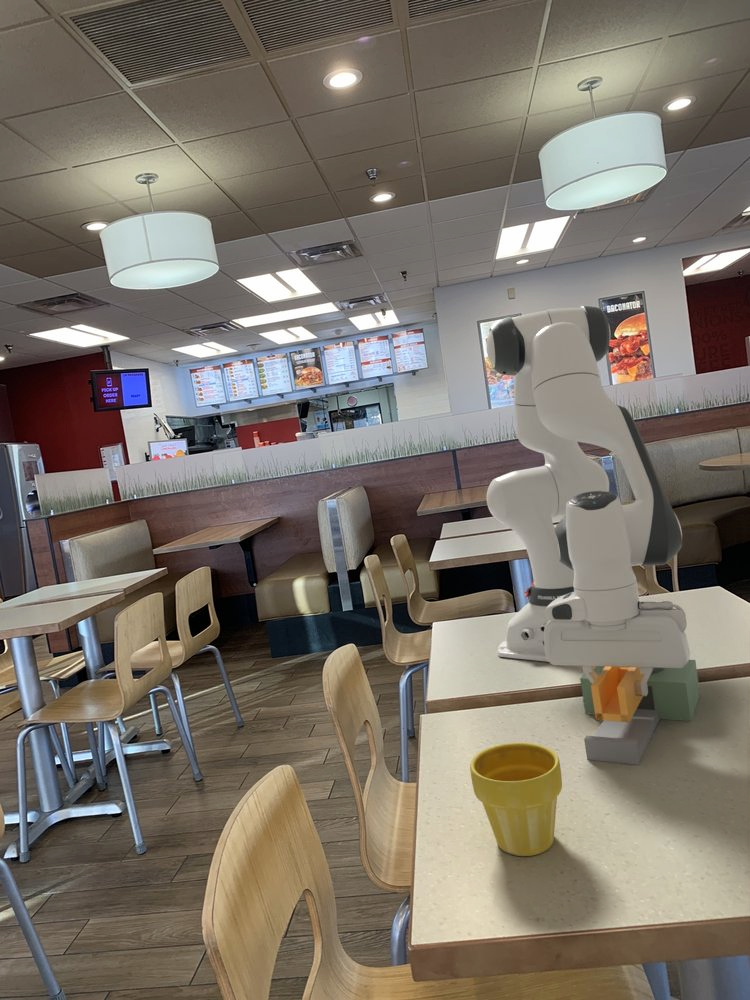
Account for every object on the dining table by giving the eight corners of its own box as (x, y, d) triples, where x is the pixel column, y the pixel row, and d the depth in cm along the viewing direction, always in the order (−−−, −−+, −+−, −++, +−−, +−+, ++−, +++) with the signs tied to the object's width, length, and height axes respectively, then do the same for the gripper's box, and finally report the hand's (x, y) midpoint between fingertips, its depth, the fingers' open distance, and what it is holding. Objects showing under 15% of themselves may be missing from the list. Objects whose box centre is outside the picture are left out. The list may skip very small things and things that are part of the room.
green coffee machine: (556, 756, 101) (545, 683, 100) (601, 690, 122) (592, 629, 121) (673, 768, 92) (662, 688, 92) (700, 695, 113) (691, 630, 113)
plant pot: (550, 808, 88) (538, 734, 87) (586, 853, 78) (573, 769, 77) (471, 827, 86) (459, 752, 86) (498, 876, 76) (484, 791, 76)
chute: (596, 720, 99) (590, 686, 99) (616, 688, 109) (611, 657, 109) (629, 722, 97) (624, 687, 96) (646, 689, 107) (642, 658, 106)
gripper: (687, 595, 99) (700, 688, 100) (547, 598, 110) (560, 683, 111) (679, 607, 94) (693, 706, 95) (534, 609, 105) (548, 698, 106)
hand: (620, 693), depth 103 cm, fingers closed on chute, 5 cm apart
